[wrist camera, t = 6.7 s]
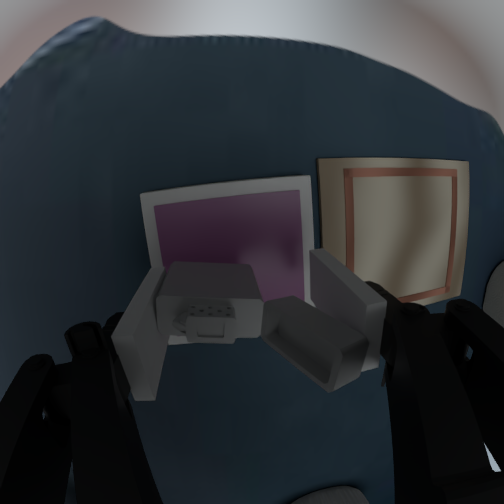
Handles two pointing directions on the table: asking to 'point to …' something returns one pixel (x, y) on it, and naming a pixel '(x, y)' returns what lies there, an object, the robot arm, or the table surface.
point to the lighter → (257, 320)
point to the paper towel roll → (495, 295)
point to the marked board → (397, 222)
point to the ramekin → (334, 496)
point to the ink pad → (236, 230)
